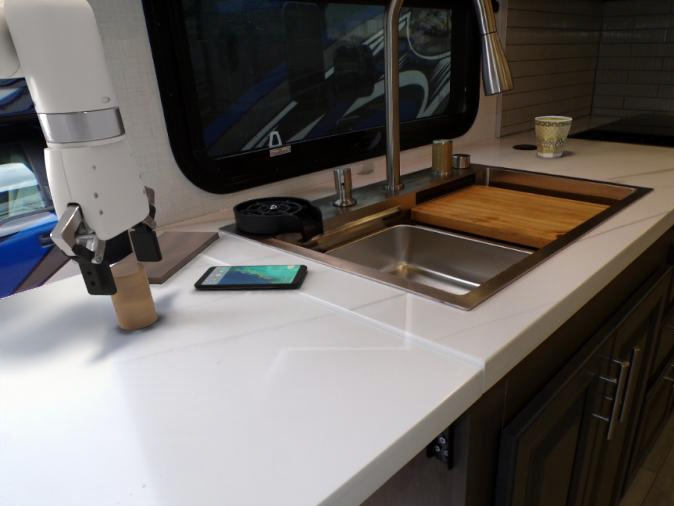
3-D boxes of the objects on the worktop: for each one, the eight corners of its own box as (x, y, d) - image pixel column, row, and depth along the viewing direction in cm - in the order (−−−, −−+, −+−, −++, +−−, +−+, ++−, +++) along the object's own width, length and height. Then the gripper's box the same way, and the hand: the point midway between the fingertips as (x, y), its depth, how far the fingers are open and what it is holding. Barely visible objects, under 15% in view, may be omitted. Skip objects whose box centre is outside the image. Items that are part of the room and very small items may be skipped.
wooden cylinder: (112, 329, 64) (95, 277, 61) (132, 312, 68) (118, 262, 65) (146, 330, 63) (131, 277, 60) (164, 313, 67) (151, 263, 64)
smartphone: (209, 265, 79) (308, 264, 78) (210, 270, 79) (308, 268, 79) (191, 285, 73) (298, 284, 72) (192, 290, 73) (298, 289, 72)
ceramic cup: (565, 159, 143) (569, 121, 138) (528, 157, 146) (531, 120, 142) (571, 151, 153) (575, 115, 149) (537, 149, 157) (540, 114, 152)
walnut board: (97, 282, 77) (95, 276, 76) (166, 236, 94) (165, 231, 94) (161, 284, 76) (160, 277, 75) (219, 237, 93) (218, 231, 93)
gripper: (102, 118, 63) (139, 250, 71) (-15, 143, 48) (49, 309, 55) (160, 116, 62) (191, 250, 70) (60, 141, 47) (114, 310, 55)
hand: (128, 276), depth 63 cm, fingers open, 9 cm apart
